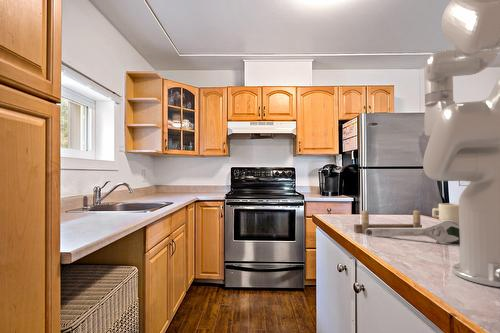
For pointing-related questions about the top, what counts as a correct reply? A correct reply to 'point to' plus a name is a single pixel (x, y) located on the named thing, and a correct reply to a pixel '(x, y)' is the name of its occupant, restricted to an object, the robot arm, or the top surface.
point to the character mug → (448, 216)
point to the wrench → (420, 231)
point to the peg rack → (365, 224)
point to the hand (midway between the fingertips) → (440, 156)
